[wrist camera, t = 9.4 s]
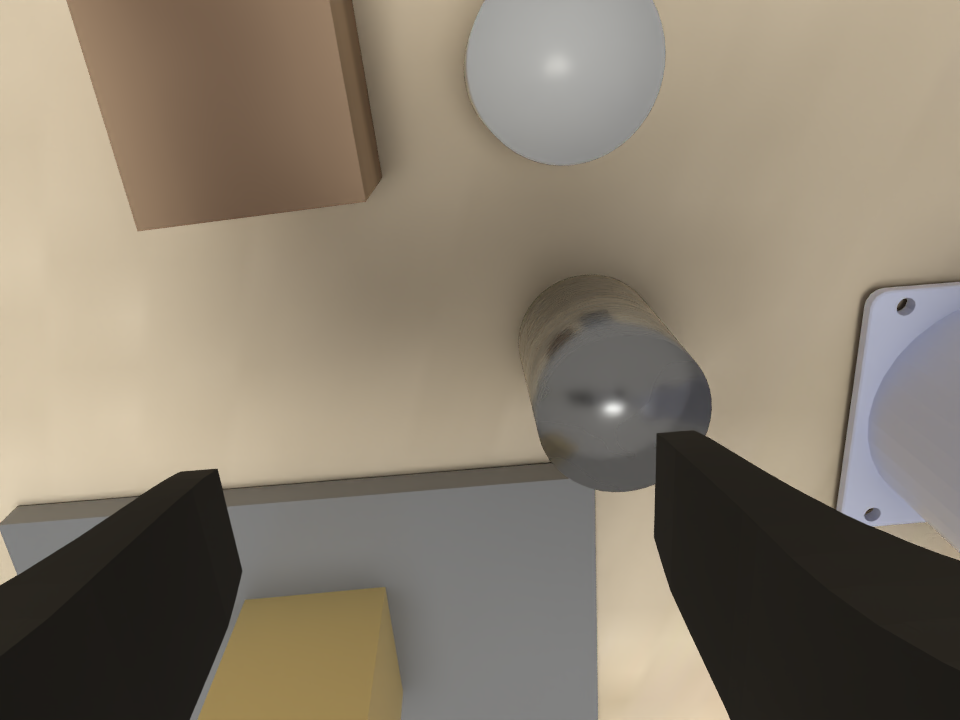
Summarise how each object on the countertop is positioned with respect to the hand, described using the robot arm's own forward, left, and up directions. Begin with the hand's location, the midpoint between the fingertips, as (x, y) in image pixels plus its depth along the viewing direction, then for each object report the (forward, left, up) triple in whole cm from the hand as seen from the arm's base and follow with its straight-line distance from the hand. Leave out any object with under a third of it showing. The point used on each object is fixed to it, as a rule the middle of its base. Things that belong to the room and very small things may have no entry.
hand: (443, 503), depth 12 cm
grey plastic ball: (-3, -6, -9) cm, 12 cm away
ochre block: (+5, +11, -8) cm, 14 cm away
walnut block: (+4, -6, -10) cm, 12 cm away
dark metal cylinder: (-4, +1, -10) cm, 10 cm away
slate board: (+5, +11, -9) cm, 15 cm away
